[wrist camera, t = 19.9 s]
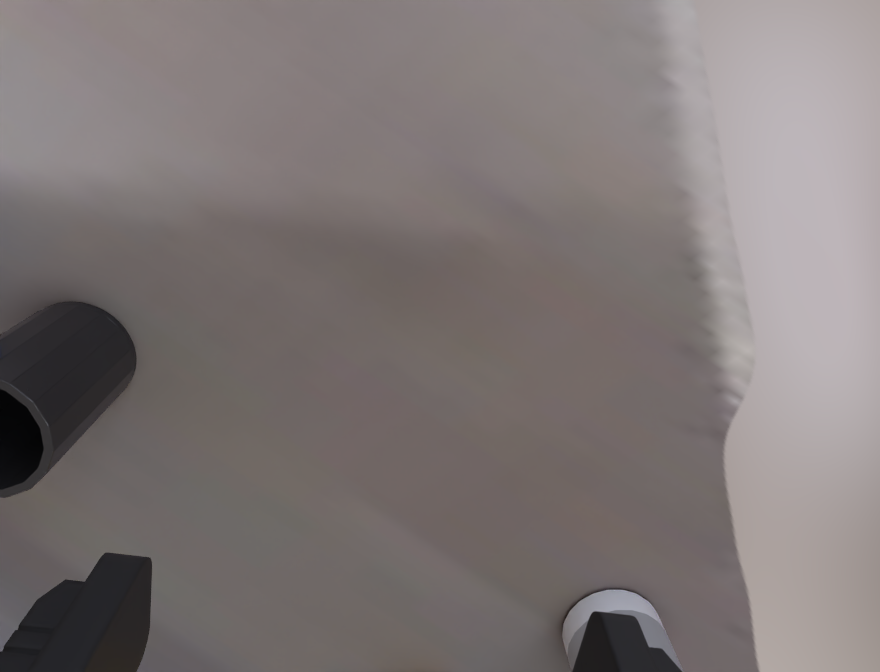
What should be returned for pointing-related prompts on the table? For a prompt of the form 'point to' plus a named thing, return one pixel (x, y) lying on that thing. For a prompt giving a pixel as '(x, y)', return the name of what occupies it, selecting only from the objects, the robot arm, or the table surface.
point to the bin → (56, 386)
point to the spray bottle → (620, 605)
